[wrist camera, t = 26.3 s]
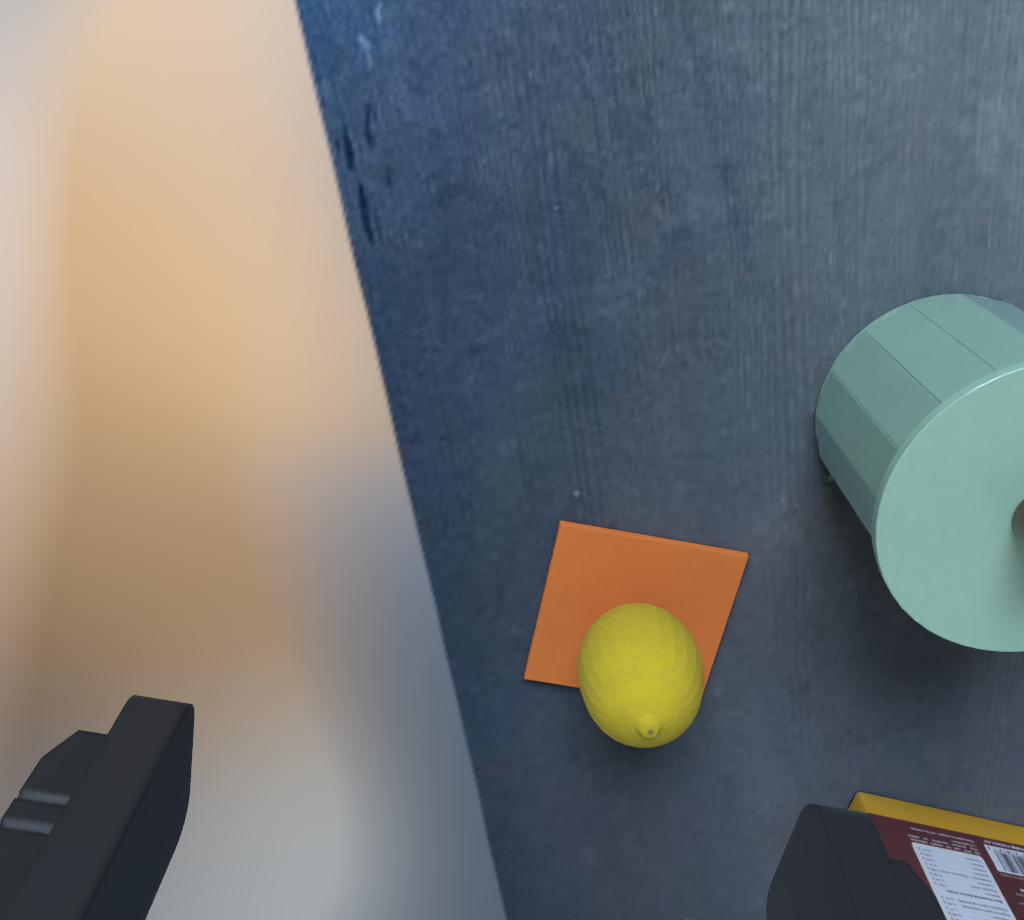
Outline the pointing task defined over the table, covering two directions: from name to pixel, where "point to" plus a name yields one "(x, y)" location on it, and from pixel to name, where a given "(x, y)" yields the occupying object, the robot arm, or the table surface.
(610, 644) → the lemon
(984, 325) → the pot
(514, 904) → the table surface
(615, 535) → the orange square coaster
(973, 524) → the pot lid
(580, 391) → the table surface
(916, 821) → the supplement box
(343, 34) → the table surface
